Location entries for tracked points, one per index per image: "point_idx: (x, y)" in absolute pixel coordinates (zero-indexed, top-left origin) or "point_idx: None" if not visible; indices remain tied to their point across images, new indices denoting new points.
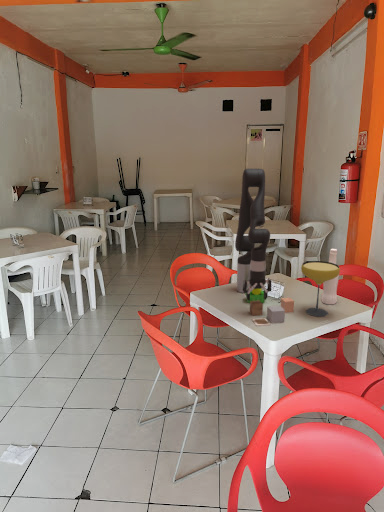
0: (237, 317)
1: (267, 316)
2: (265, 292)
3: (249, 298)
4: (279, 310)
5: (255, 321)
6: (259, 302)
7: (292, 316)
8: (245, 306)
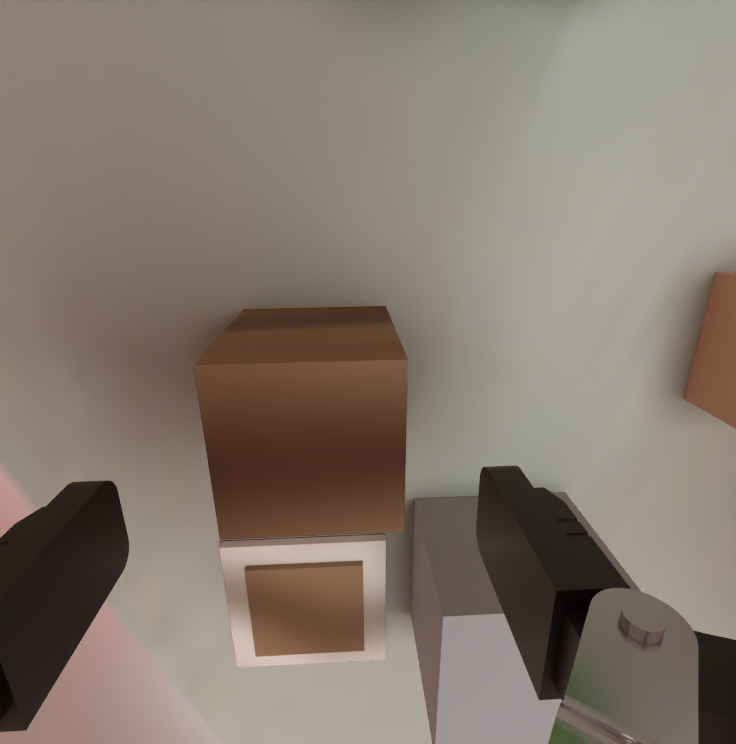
0: (49, 459)
1: (417, 528)
2: (562, 688)
3: (90, 601)
4: (548, 736)
5: (247, 596)
6: (369, 458)
7: (707, 504)
8: (216, 62)
